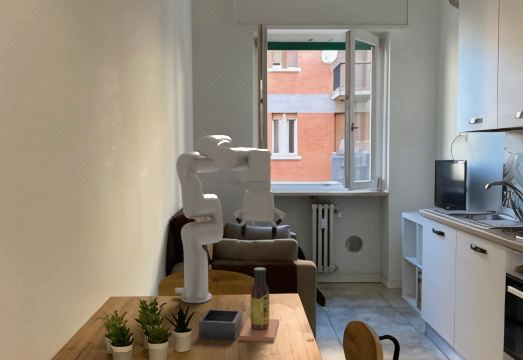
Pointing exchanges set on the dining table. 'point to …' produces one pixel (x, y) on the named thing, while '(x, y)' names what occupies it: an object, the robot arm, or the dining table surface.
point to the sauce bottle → (259, 300)
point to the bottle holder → (220, 324)
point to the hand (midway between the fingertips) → (258, 237)
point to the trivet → (260, 332)
